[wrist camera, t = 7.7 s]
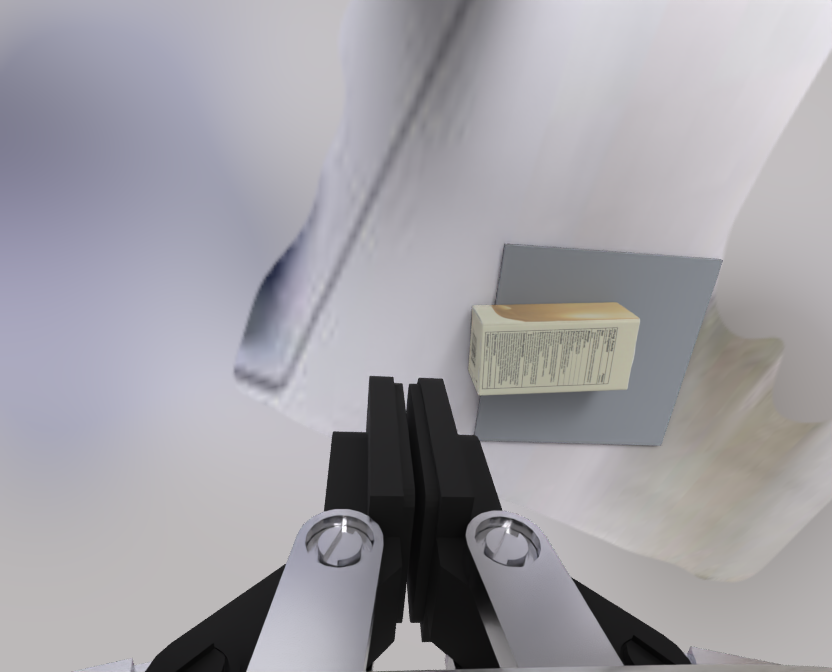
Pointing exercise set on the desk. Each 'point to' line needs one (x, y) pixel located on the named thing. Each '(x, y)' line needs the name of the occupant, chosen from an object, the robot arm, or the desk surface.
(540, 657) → the robot arm
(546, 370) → the skincare box
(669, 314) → the desk mat
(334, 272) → the desk surface
